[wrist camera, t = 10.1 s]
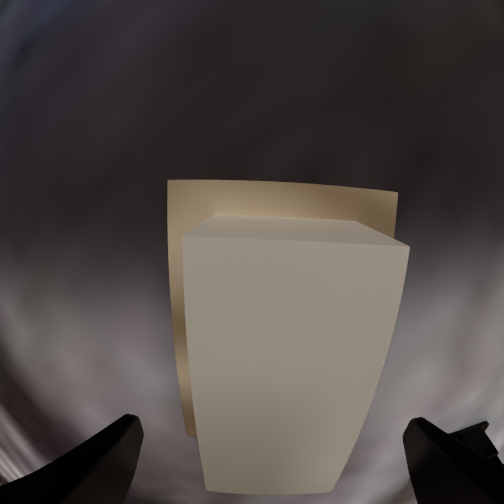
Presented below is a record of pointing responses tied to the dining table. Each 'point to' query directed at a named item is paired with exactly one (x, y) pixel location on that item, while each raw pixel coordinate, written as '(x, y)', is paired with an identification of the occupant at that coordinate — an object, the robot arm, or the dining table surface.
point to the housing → (285, 345)
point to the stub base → (255, 204)
